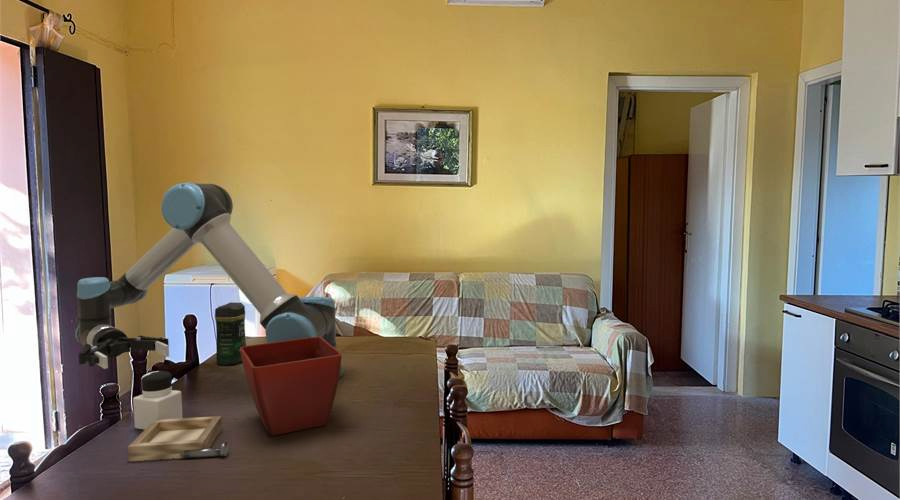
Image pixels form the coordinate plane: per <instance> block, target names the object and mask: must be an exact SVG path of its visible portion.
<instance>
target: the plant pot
mask: <svg viewBox="0 0 900 500" xmlns="http://www.w3.org/2000/svg"><path fill="white" fill-rule="evenodd" d="M336 349H337V348H336ZM336 349H335V348H334V347H332V346H331V345H330V344H329V343H328V342H326V341H325V340H324V339H323V338H321V337H311V338H303V339H295V340H287V341H280V342H272V343H267V342H266V343H259V344H258V343H257V344H250V345H246V346H243V347H240V352H241V357H242V361H241V362H242V365H243V366H242V367H243V370H244V373H245V378H246V382H247V385H248V387H249V391H250V394H251V397H252V400H253V403H254V406H255V409H256V410H257V411H256V412H257V414H258V416H259V418H260V421H261V422H262V424H263V426H264V428H265V430H266V432H267V435H269V436H272V437H273V436H278V435H282V434H287V433H293V432H297V431H302V430H303V431H304V430H308V429H313V428H317V427H322V426H325V425H327V423H328V421H329V419H330V415H331V413H332V412H331V411H332V409H333V405H334V402H335V399H336V394H337V390H338V385H339V380H340V378H339V374H340V366H341V363H342V357H343V356H342V355H343V354H342V352H340V351H339V350H338V349H337V350H336Z"/></svg>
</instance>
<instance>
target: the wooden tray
mask: <svg viewBox="0 0 900 500" xmlns="http://www.w3.org/2000/svg"><path fill="white" fill-rule="evenodd" d="M222 429H223V423H222V416H221V415H218V416H217V415H215V416H201V417H199V416H198V417H197V416H196V417H183V418H177V419H160V420H154V421H153V422H152V423H151V424H150V425H149V426H148V427H147V428H146V429H145V430H143V431H142V432H141V433H140V434H139V435H138V436H137V437H136V438H135V439H134V440H133V441H132V442H131V443H130V444H129V445H128V446H127V453H128V454H127V456H128V462H143V461H145V460H146V461H158V460H161V459H162V460H174V459H175V460H176V459H183V458H182V457H181V456H180V453H181V452H182V451H183V450H196V449H207V448H211V446H212V445H213V443H214V442H215V440H216V439H217V437H218V436H219V434H220V433H221V431H222ZM173 458H174V459H173Z"/></svg>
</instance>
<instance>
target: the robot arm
mask: <svg viewBox="0 0 900 500" xmlns="http://www.w3.org/2000/svg"><path fill="white" fill-rule="evenodd" d="M233 204H234V202H233V199H232V197H231V195H230V193H229V192H228V191H227V190H226V189H225V188H223V187H222V186H220V185H218V184H214V183H196V182H195V183H193V182H190V181H189V182H183V183H177V184H174V185H173V186H171V187H170V188H169V189H167V191H166V192H165V193H164V195H163V197H162V200H161V207H160V208H161V214H162V217H163V220H164V221H165V222H166V223H167V224H168V225H169V226H170V227H171V229H170V230H169V231H168V232H167V233H166V234H165V235H164V236H163V237H162V238H161V239H160V240H159V241H158V242H157V243H155V244H154V245H153V246H152V247H151V248H150V249H149V250H148V251H147V252H146V253H145V254H144V255H142V256H141V258H140V259H138V260H137V262H135V263H134V264H133V265H132V266H131V267H130V268H128V270H126V271H125V272H124V273H123V275H121V276H120V277H119V278H118V279H116V280H113V281H109V279H108V278H107V277H105V276H101V277H99V276H97V277H96V276H95V277H93V276H92V277H86V278H85V277H84V278H81V279H79V280H78V282H77V284H76V285H77V288H76V289H77V292H76V298H77V309H78V311H77V313H78V325H77V327H76V329H75V333H74V334H75V339H76V340H77V342H79V343H80V345H81V346H82V347H83V348H82V349H81V351H80V352H79V353H78V363H79V365H85V364H86V363H88V367H94V366H95V364H96V365H97V366H99V367H101V368H102V369H104V370H106V369H108V368H109V365H108V363H109V362H108V359H115V358H117V357H119V356H120V355H123V354H125V353H134V352H137V351H148V352H149V351H153V352H154V351H155V353H157V354H158V355H161V356H164V357H165V358H167V357H170V348H169V347H170V345H169V338H163V337H152V336H145V335H138V336H137V338H136V337H128V336H127V334H126V333H125V332H124V331H122V330H120V329H118V328H116V327H114V326H112V310H111V309H114V308H118V307H121V306H126V305H132V304H134V303H137V302H138V301H141V300H143V299H144V298H145V297H146V295H147V293H148V289H149V288H150V287H151V286H152V285H153V284H155V282H157V281H158V280H159V279H160V278H161V277H162V276H163V275H164V274H166V272H168V271H169V269H171V268H172V267H173V266H174V265H175V264H176V263H177V262H178V261H180V260H181V258H183V257H184V256H185V255H186V254H187V253H188V252H189V251H190V250H191V249H193V247H195V246H196V245H197V244H202V245H203V246H204V247H205V249H206V250H207V251H208V253H209V254H210V255H211V256H212V258H214V260H215V262H217V263H218V265H219V266H220V267H221V268H222V269H223V271H224V272H225V273H226V274H227V276H228V277H229V278H230V280H231V281H232V282H233V283H234V284H235V285H236V287H238V289H239V290H240V292H241V293H242V294H243V295H244V296H245V298H246V299H248V301H249V302H250V304H251V305H252V306H253V307H254V308H255V309H256V311H257V312H258V313H259V315H260V316H259V324H260V325H261V326H262V327H263V329H264V331H265V341H266V343H272V342H280V341H287V340H295V339H303V338H311V337H321V338H323V339H324V340H325V341H326V342H328V343H329V344H330V345H331V346H332V347H334V348H335V349H336V350H338V349H337V330H336V329H337V328H336V309H337V308H336V305H335V304H336V303H335V300H334V298H332V297H330V296H298V295H297V294H296V293H288V292H287V291H286V290H285V288H284V287H283V286H282V285H281V283H279V281H278V280H277V279H276V277H275V276H274V275H273V274H272V273H271V272H270V270H269V269H268V268H267V267H266V266H265V264H264V263H263V261H261V260H260V258H259V257H258V256H257V255H256V253H255V252H254V251H253V250H252V249H251V247H250V246H249V245H248V244H247V243H246V241H245V240H244V238H243V237H242V236H241V235H240V234H239V233H238V231H236V229H235V228H234V226H232V224H231V217H232V213H233V209H234V205H233ZM130 349H131V352H130ZM343 376H344V367H343V363H342V362H341V366H340V374H339V379H340V378H342V377H343Z"/></svg>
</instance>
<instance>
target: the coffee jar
mask: <svg viewBox="0 0 900 500" xmlns="http://www.w3.org/2000/svg"><path fill="white" fill-rule="evenodd" d="M214 320H215V330H216V350H215V351H216V354H215V355H216V356H215V357H216V361H215V362H216V363H217V364H219V365H223V366H230V365H236V364H239V363H241V362H242V357H241V352H240V347H243V346H247V339H246V329H245V328H246V327H245V326H246V323H245V320H246V306H245V305H244V303H242V302H234V301H233V302H229V303H226V304H223V305H220V306H218V307H216V308H215V309H214Z"/></svg>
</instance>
